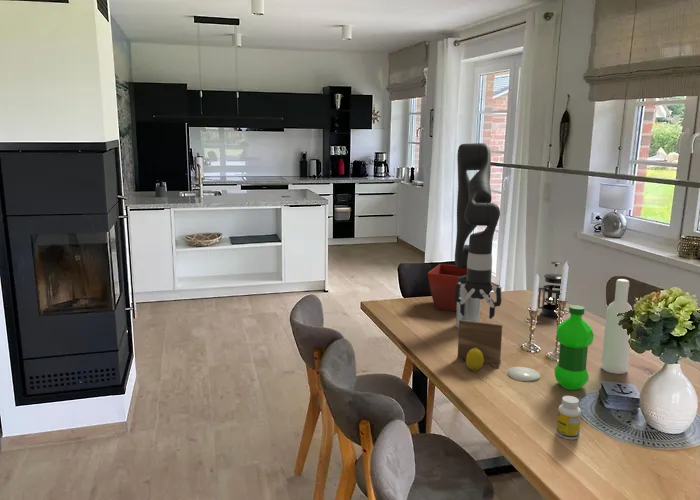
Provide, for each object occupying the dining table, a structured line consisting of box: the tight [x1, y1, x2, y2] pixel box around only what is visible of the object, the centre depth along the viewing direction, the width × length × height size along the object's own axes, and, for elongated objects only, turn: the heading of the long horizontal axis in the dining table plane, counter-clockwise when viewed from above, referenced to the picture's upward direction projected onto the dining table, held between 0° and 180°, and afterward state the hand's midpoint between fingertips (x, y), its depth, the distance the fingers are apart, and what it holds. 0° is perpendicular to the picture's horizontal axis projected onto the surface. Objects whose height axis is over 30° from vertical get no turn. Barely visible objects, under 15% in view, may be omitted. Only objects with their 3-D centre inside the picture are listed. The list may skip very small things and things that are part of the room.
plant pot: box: [427, 263, 467, 312], centre depth 250 cm, size 19×19×17 cm
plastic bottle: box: [554, 304, 594, 391], centre depth 170 cm, size 10×10×25 cm
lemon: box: [465, 348, 484, 372], centre depth 183 cm, size 6×6×8 cm
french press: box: [537, 261, 563, 319], centre depth 239 cm, size 12×9×23 cm
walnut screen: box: [455, 319, 503, 369], centre depth 189 cm, size 5×14×14 cm, turn 68°
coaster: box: [506, 366, 541, 382], centre depth 181 cm, size 10×10×1 cm
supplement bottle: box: [556, 395, 582, 441], centre depth 144 cm, size 5×5×10 cm
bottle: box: [600, 278, 633, 375], centre depth 182 cm, size 8×8×30 cm
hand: (477, 316), depth 180 cm, fingers open, 8 cm apart
